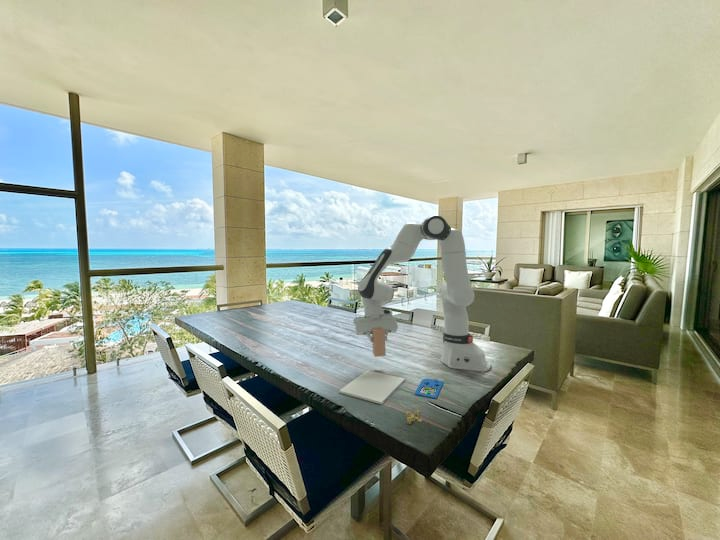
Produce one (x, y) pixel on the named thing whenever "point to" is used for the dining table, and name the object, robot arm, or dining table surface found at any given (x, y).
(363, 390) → the white mat
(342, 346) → the dining table surface
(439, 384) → the handheld gaming device
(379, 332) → the terracotta block
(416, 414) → the popcorn pieces
